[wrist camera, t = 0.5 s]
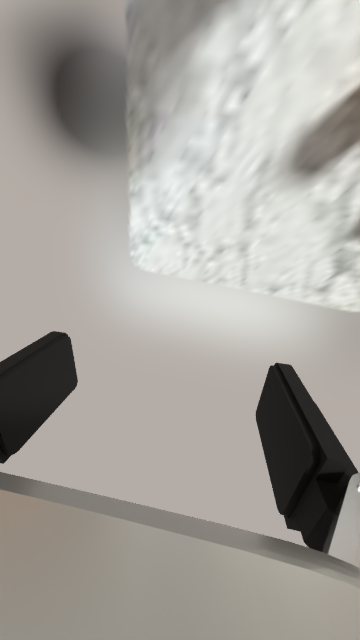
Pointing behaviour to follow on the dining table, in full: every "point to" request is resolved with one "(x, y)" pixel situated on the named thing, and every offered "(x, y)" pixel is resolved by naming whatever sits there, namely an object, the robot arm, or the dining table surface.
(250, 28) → the dining table surface
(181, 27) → the dining table surface
